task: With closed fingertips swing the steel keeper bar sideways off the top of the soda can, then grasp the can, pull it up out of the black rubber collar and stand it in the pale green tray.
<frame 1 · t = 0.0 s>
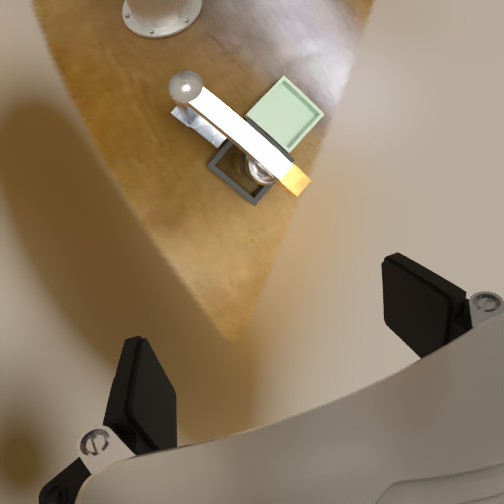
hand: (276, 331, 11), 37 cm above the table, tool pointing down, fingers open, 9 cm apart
keeper bar: (238, 132, 28), point 16 cm above the table, hinge at 0.0°
soda can: (248, 161, 45), resting in collar
tray: (282, 115, 44), on the table
collar: (248, 161, 45), on the table
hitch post: (188, 111, 41), on the table
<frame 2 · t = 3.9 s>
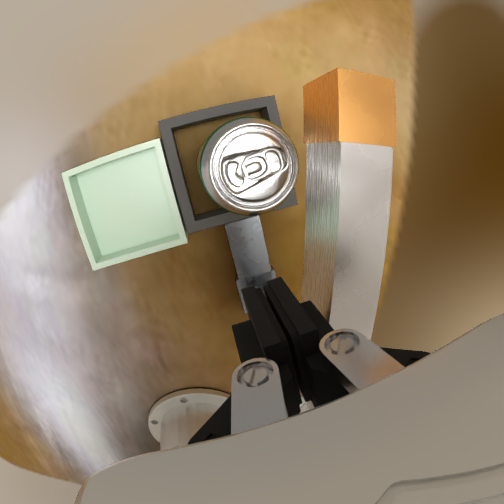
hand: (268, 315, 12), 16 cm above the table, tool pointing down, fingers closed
keeper bar: (338, 297, 12), point 16 cm above the table, hinge at 12.5°, touching gripper
soda can: (226, 161, 25), resting in collar
tray: (128, 202, 24), on the table
collar: (226, 161, 25), on the table
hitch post: (257, 288, 29), on the table
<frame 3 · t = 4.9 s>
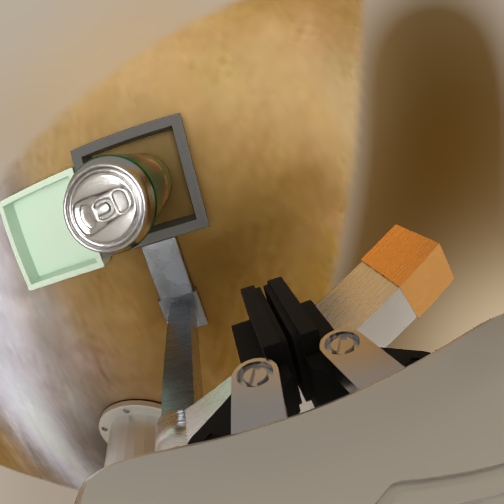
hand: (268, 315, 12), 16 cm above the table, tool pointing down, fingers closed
keeper bar: (287, 379, 13), point 16 cm above the table, hinge at 61.4°, touching gripper
soda can: (142, 183, 24), resting in collar
tray: (57, 226, 24), on the table
collar: (142, 183, 24), on the table
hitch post: (183, 308, 28), on the table
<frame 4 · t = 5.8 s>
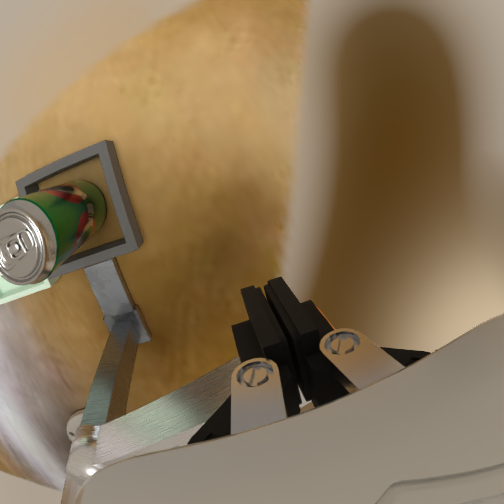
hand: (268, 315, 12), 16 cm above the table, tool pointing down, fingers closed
keeper bar: (183, 425, 13), point 16 cm above the table, hinge at 73.1°, touching gripper
soda can: (82, 208, 24), resting in collar
tray: (14, 248, 23), on the table
collar: (81, 208, 24), on the table
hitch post: (128, 324, 28), on the table
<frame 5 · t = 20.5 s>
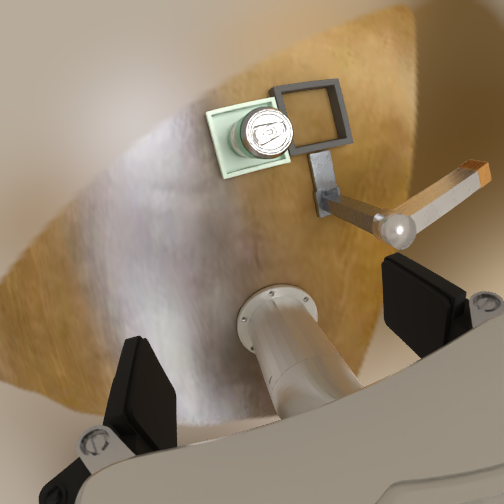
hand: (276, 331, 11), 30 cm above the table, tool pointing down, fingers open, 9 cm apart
keeper bar: (439, 198, 27), point 16 cm above the table, hinge at 77.0°
soda can: (246, 138, 37), resting on tray
tray: (245, 137, 37), on the table
collar: (308, 116, 38), on the table
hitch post: (326, 200, 42), on the table
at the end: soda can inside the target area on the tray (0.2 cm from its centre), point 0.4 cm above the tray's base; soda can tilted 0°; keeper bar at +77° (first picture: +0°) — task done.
